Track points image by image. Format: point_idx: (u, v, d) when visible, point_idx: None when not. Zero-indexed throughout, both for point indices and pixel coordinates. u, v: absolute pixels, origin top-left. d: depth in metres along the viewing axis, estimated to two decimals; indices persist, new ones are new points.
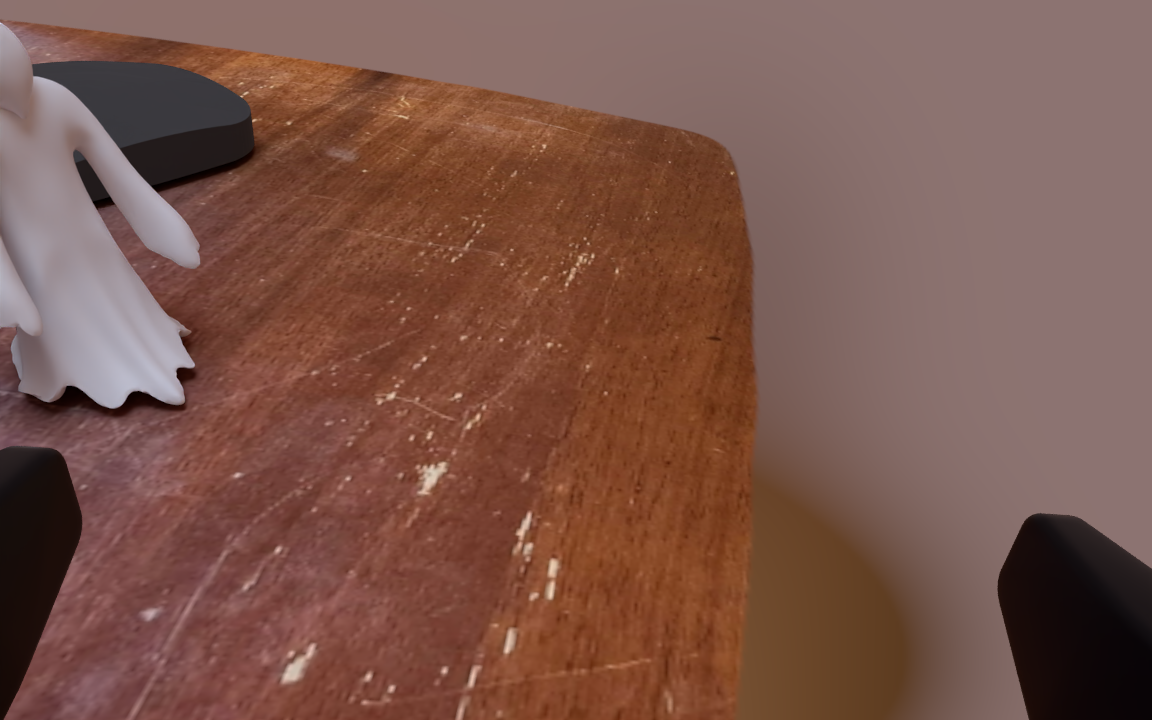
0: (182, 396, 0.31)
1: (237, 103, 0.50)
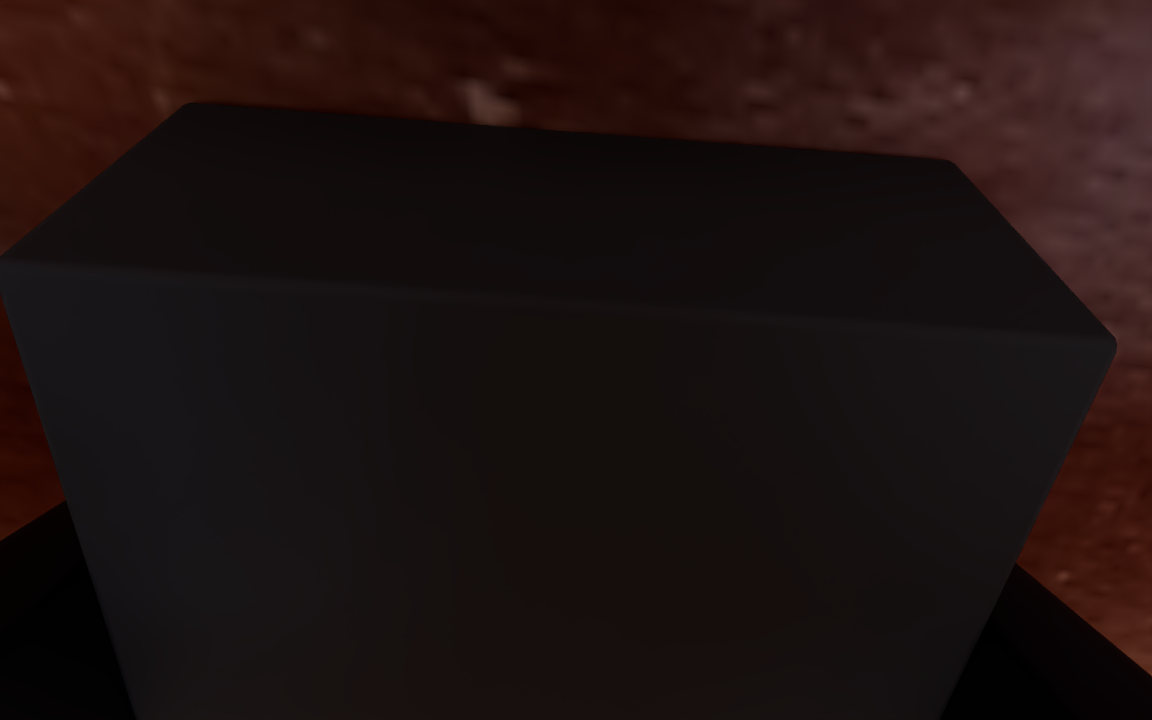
0: None
1: None
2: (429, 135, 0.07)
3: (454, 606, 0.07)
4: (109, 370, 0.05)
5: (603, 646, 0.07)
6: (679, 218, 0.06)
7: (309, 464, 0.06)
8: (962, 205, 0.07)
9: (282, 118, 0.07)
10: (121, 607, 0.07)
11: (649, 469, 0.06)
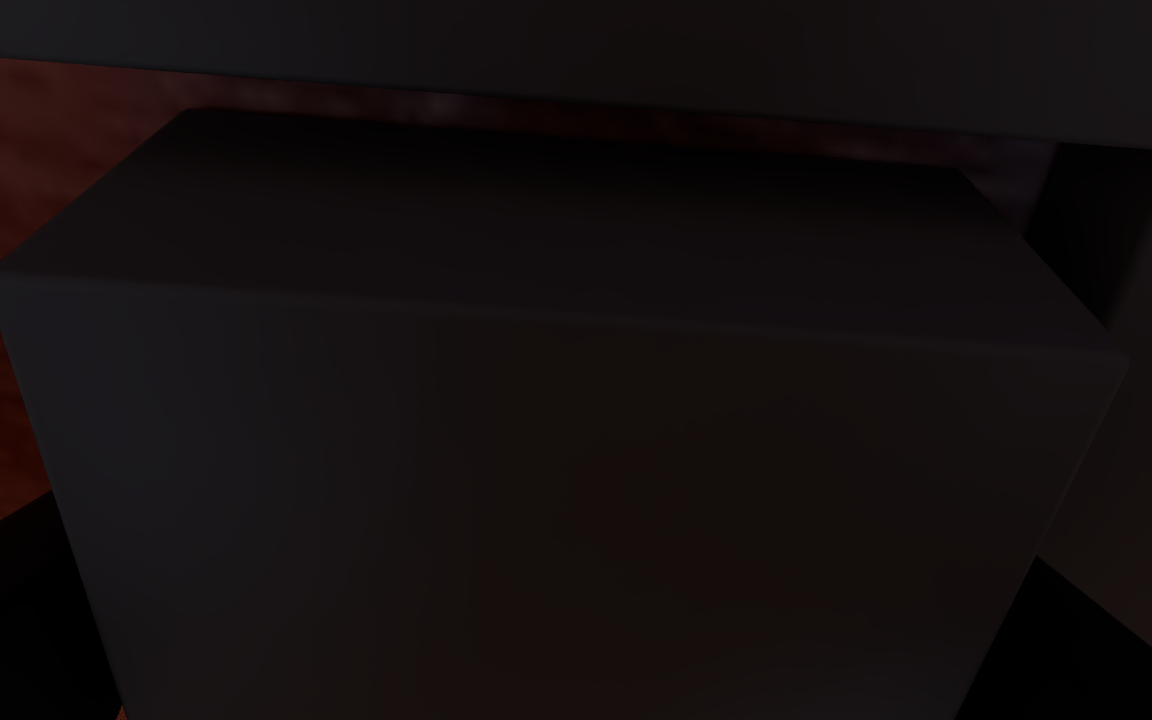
0: None
1: None
2: (429, 142, 0.07)
3: (452, 621, 0.07)
4: (103, 383, 0.05)
5: (606, 661, 0.07)
6: (683, 228, 0.06)
7: (306, 478, 0.06)
8: (970, 214, 0.07)
9: (280, 125, 0.07)
10: (116, 622, 0.07)
11: (652, 484, 0.06)
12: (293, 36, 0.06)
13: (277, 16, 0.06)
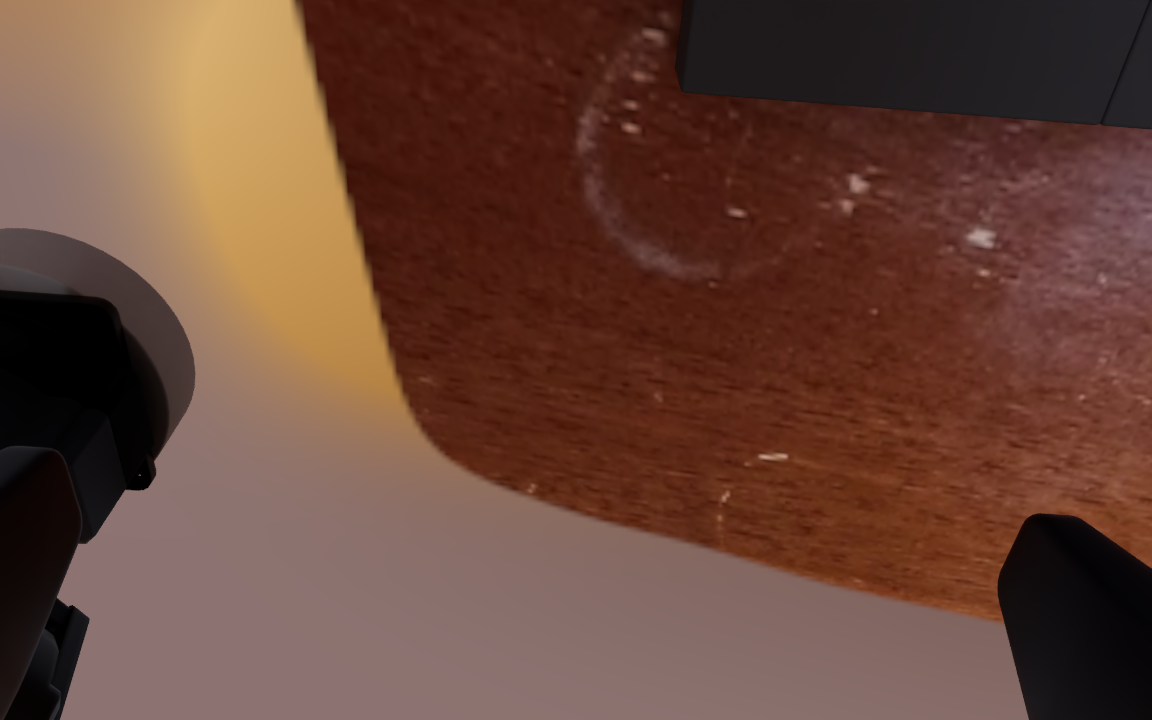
0: None
1: None
2: None
3: None
4: None
5: None
6: None
7: None
8: None
9: None
10: None
11: None
12: None
13: None
